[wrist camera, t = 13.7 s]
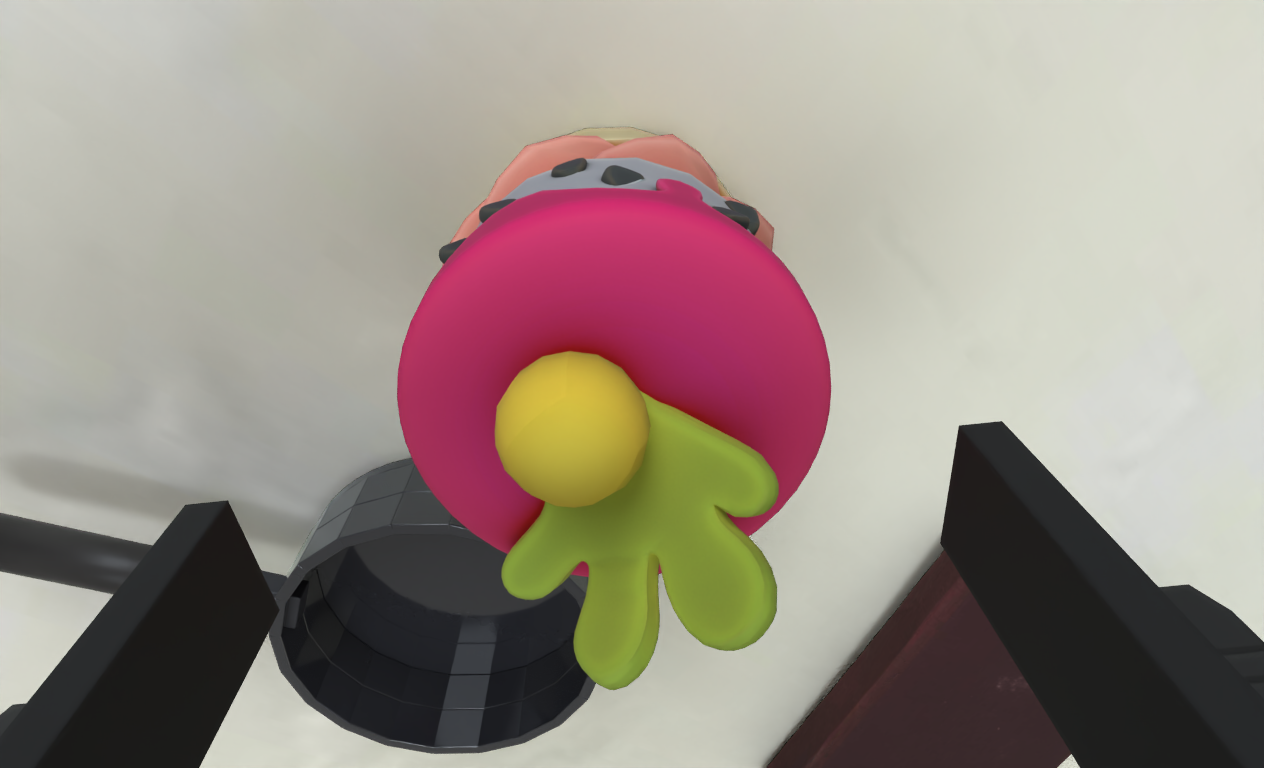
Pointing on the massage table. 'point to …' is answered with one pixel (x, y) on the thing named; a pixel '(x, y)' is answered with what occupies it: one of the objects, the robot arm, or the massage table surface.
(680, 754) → the massage table surface
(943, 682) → the book
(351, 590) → the pan
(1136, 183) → the massage table surface
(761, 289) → the cake
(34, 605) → the massage table surface
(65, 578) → the pan handle
